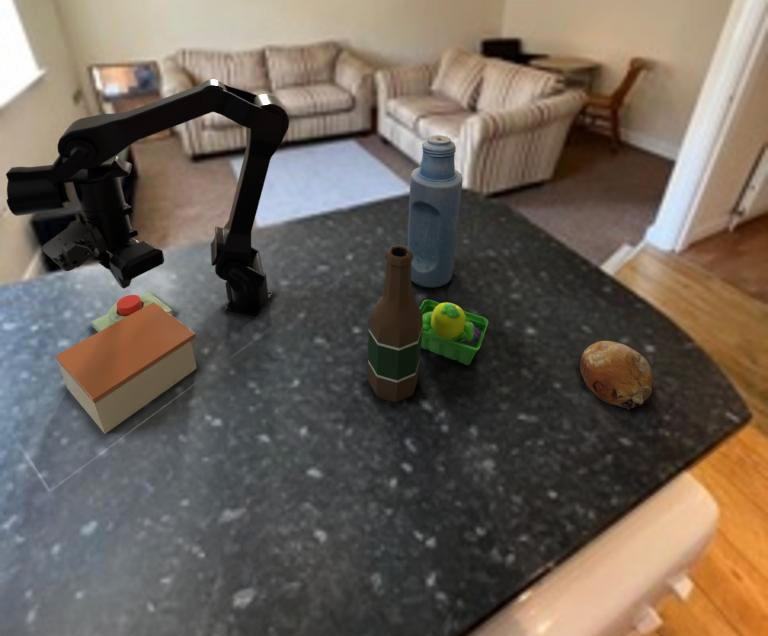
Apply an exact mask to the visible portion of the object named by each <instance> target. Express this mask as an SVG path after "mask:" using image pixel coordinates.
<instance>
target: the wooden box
mask: <svg viewBox="0 0 768 636" xmlns="http://www.w3.org/2000/svg"><path fill="white" fill-rule="evenodd" d="M56 362H57V364H58V367H59V369H60V372H61V375H62V378H63V380H64V382H65V385H66V388H67V390H68V391H69V392H70V394H72V396H73V397H74V398H75V399H76V401H77V403H79V404H80V406H81V407H82V408H83V409H84V410H85V412H86V413H87V414H88V415H89V417H90V418H91V419H92V420H93V421H94V423H95V424H96V425H97V426H98V427H99V429H100V430H101V431H102V432H103V433H104V434H105V435H106V434H107V433H108V432H110V431H112V430H113V429H114V428H115V427H117V426H118V425H119V424H121V423H122V422H124V421H125V420H127V419H128V418H129V417H131V416H132V415H134V414H136V413H137V412H138V411H139V410H141V409H142V408H144V407H145V406H146V405H148V404H149V403H150V402H152V401H153V400H155V399H156V398H158V397H159V396H160V395H162V394H163V393H164V392H166V391H167V390H169V389H170V388H172V387H173V386H174V385H176V384H177V383H179V382H180V381H181V380H183V379H184V378H186V377H187V376H189V374H191V373H193V372H194V371H195V370H196V369H198V368H197V363H196V359H195V354H194V349H193V345H192V340H191V341H190V342H188V343H187V344H185V345H184V346H182V347H181V348H179V349H177V350H176V351H174V352H173V353H171V354H170V355H168V356H167V357H165V358H164V359H162V360H161V361H159V362H158V363H156V364H154V365H153V366H151V367H150V368H148V369H147V370H145V371H144V372H142V373H141V374H139V375H138V376H136V377H135V378H133V379H131V380H130V381H128V382H127V383H125V384H124V385H122V386H121V387H119V388H118V389H116V390H115V391H113V392H111V393H110V394H108V395H107V396H105V397H104V398H102V399H101V400H99V401H98V402H96V403H93V402H92V400H91V399H90V398H89V397H88V396H87V395H86V393H85V392H84V391H83V390H82V389H81V388H80V386H79V385H78V384H77V383H76V382H75V381H74V379H73V378H72V377H71V376H70V375H69V374H68V372H67V371H66V370H65V369H64V368H63V367H62V365H61V364H60V363H59V362H58V361H57V360H56Z"/></svg>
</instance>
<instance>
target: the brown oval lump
mask: <svg viewBox="0 0 768 636" xmlns="http://www.w3.org/2000/svg"><path fill="white" fill-rule="evenodd" d="M579 365H580V366H579V367H580V373H581V377H582V378H583V381H584V383H585V385H586V387H587V388H588V389H589V391H590V392H591V393H592V394H593V395H594V396H595V397H596V398H598V399H599V400H600V401H602V402H604V403H606V404H608V405H611V406H616V407H619V408H622V409H627V410H631V409H633V408H636V407H641V406H642V405H643V404H644V402H645V401H646V400H647V399H648V398H649V397H650V396H651V394H652V393H653V386H654V375H653V374H654V373H653V370H652V368H651V366H650V363H649V362H648V360H647V359H646V358H645V357H644V356H643V355H641V353H639V352H637V351H636V350H635V349H633V348H631V347H630V346H627V345H626V344H623V343H621V342H616V341H613V340H612V341H611V340H600V341H597V342H595V343H592V344H590V345H588V346H587V348H586V349H585V350H584V351H583V352H582V355H581V359H580V364H579Z"/></svg>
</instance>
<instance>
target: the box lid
mask: <svg viewBox="0 0 768 636" xmlns="http://www.w3.org/2000/svg"><path fill="white" fill-rule="evenodd" d="M194 339H196V333H195V332H193V331H192V330H191V329H189V327H187V326H186V325H185V324H183V323H182V322H181V321H179V320H178V319H177V318H176V317H174V316H173V315H170V314H169V313H168V312H167V311H165V310H164V309H163V308H162V307H160V306H159V305H158V304H156V303H155V302H153V303H151V304H149V305H147V306H146V307H144V308H142V309H140V310H138V311H136V312H135V313H133V314H131V315H129V316H127V317H125V318H124V319H122V320H120V321H118V322H116V323H114V324H113V325H111V326H109V327H107V328H105V329H103V330H102V331H100V332H98V331H97V332H96V333H94V334H92V335H91V336H89V337H87V338H85V339H83V340H81V341H79V342H78V343H76V344H74V345H72V346H70V347H68V348H67V349H65V350H63V351H61V352H60V353H58V354H55V356H54V357H55V359H56V362H57V361H58V362H59V363H60V364H61V365H62V367H63V368H64V369H65V370H66V371H67V372H68V374H69V375H70V376H71V377H72V378H73V379H74V381H75V382H76V383H77V384H78V385H79V386H80V388H81V389H82V390H83V391H84V392H85V393H86V395H87V396H88V397H89V398H90V399H91V400H92V402H93V403H96V402H98V401H99V400H101V399H102V398H104V397H105V396H107V395H108V394H110V393H111V392H113V391H115V390H116V389H118V388H119V387H121V386H122V385H124V384H125V383H127V382H128V381H130V380H131V379H133V378H135V377H136V376H138V375H139V374H141V373H142V372H144V371H145V370H147V369H148V368H150V367H151V366H153V365H154V364H156V363H158V362H159V361H161V360H162V359H164V358H165V357H167V356H168V355H170V354H171V353H173V352H174V351H176V350H177V349H179V348H181V347H182V346H184V345H185V344H187V343H188V342H190V341H191V342H192V341H193V340H194ZM58 362H57V363H58Z"/></svg>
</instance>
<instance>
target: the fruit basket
mask: <svg viewBox="0 0 768 636" xmlns="http://www.w3.org/2000/svg"><path fill="white" fill-rule="evenodd" d="M419 308H420V311H421V313H422V316H423V330H422V342H421V349H423V350H428V351H430V352H431V353H433V354H437V355H441V356H443V357H445V358H447V359H450V360H453V361H457V362H458V363H460V364H463V365H466V366H469V365H470V364H471V363H472V361H473V359H474V357H475V355H476V353H477V352H479V350H480V348H481V346H482V342H483V339H484V336H485V334H486V331H487V328H488V325H489V320H488V319H487V318H486V317H484V316H481V315H478V314H475V313H471V312H469V311H465V310H463V309H462V308H461V307H460V306H459V305H458V304H455V303H452V302H447V301H446V302H437V301H435V300H432V299H424V300H423V302H422V303H421V305H420V306H419Z"/></svg>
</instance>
